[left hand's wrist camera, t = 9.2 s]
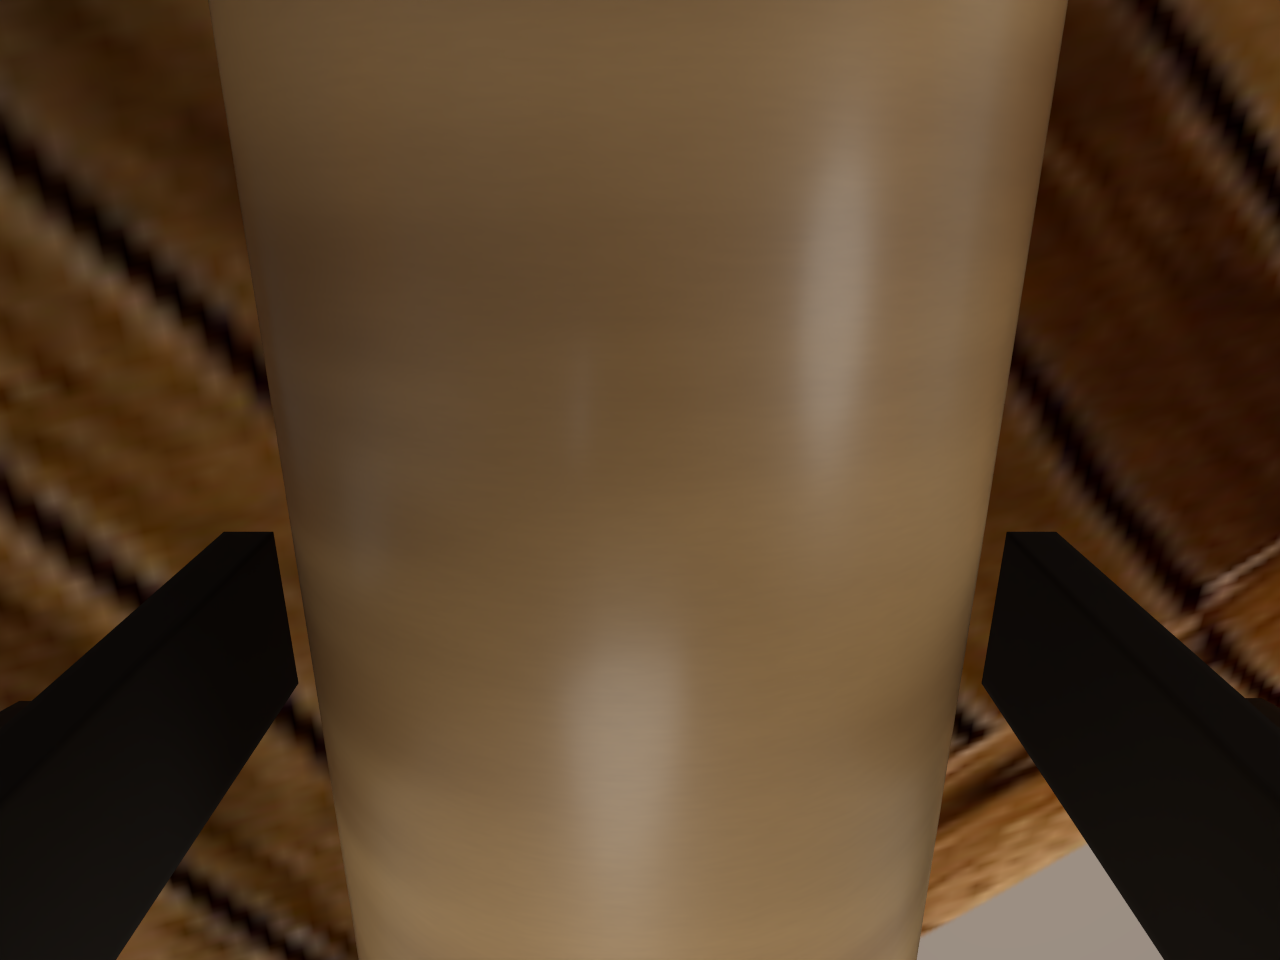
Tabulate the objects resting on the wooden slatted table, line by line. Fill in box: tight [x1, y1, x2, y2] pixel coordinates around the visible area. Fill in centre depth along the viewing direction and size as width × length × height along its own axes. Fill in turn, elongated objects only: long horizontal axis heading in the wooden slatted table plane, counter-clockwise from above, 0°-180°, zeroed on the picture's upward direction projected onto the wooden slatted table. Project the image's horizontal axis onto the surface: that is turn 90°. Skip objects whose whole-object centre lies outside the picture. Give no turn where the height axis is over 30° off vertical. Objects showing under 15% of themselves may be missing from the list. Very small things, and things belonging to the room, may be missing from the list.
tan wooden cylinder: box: [208, 0, 1068, 960], centre depth 9 cm, size 23×8×8 cm, turn 0°
